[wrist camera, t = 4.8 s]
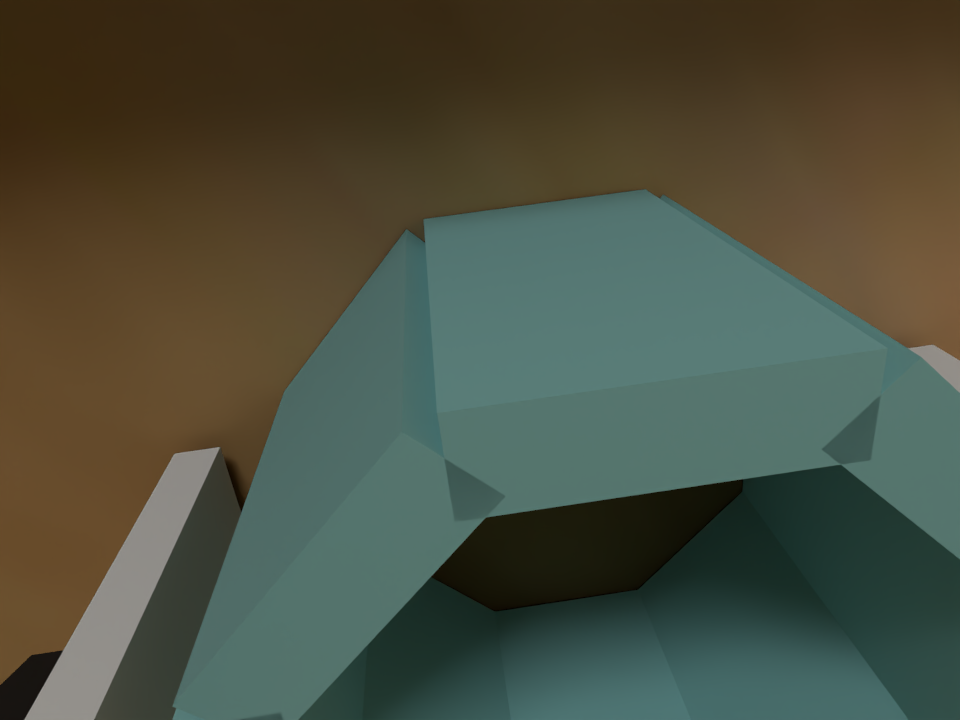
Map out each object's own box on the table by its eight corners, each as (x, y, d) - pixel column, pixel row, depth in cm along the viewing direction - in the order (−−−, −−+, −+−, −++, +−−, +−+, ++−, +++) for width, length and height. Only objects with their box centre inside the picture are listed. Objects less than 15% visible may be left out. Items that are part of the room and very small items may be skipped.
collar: (352, 670, 14) (316, 1059, 9) (237, 244, 10) (50, 468, 5) (782, 604, 15) (1002, 940, 9) (823, 165, 11) (1243, 297, 5)
